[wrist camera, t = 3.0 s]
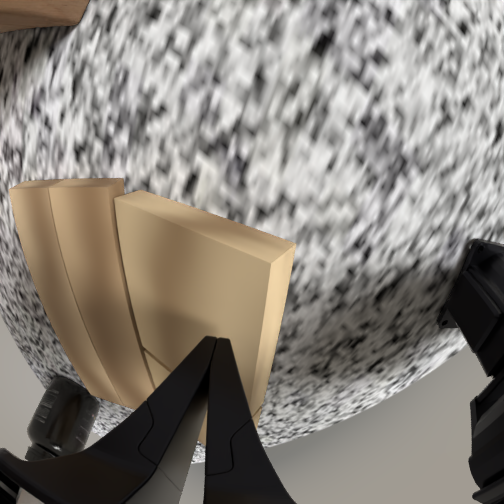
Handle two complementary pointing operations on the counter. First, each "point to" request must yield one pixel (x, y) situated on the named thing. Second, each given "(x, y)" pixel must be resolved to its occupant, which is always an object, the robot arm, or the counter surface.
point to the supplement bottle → (61, 420)
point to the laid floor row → (84, 281)
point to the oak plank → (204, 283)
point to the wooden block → (40, 13)
